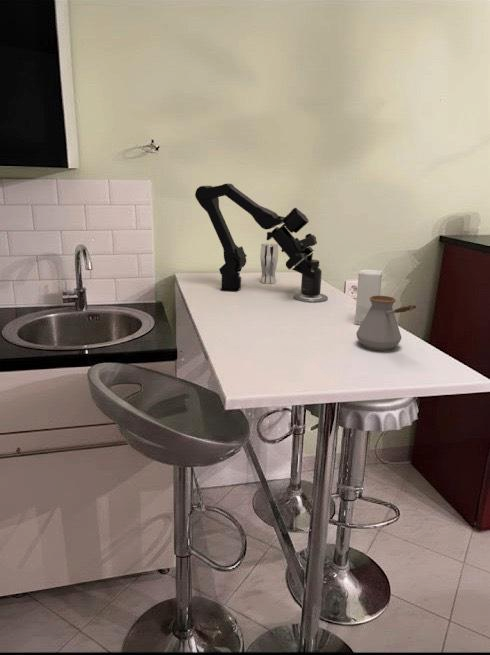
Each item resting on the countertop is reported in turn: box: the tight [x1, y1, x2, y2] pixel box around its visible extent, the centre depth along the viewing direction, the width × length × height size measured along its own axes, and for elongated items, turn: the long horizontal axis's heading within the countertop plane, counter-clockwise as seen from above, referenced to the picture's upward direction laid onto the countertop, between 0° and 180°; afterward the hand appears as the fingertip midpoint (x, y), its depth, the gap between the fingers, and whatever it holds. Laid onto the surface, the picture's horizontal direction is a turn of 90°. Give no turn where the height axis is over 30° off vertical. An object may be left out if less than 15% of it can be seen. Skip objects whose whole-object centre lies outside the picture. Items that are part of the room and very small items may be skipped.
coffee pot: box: [355, 295, 420, 352], centre depth 128 cm, size 21×12×15 cm, turn 13°
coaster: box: [293, 292, 329, 303], centre depth 182 cm, size 12×12×1 cm
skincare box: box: [354, 268, 383, 326], centre depth 153 cm, size 8×7×16 cm
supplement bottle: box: [300, 258, 322, 296], centre depth 179 cm, size 7×7×12 cm
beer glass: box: [259, 243, 279, 285], centre depth 202 cm, size 7×7×15 cm
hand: (315, 276), depth 179 cm, fingers closed on supplement bottle, 6 cm apart
